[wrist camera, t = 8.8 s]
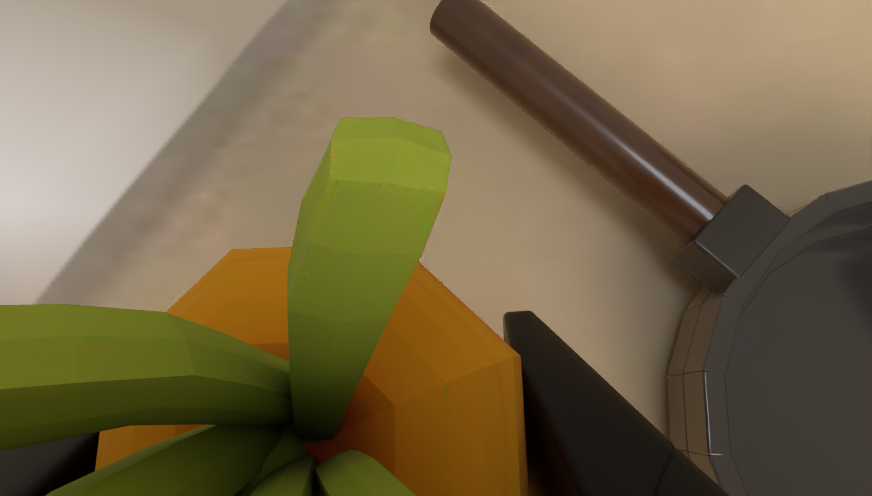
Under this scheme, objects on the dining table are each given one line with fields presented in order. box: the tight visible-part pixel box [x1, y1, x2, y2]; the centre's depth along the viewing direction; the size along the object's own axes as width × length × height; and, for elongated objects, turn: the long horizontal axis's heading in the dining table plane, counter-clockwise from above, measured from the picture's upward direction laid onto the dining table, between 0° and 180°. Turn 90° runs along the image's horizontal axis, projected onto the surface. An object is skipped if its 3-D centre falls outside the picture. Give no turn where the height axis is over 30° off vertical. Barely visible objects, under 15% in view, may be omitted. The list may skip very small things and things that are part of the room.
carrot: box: [0, 117, 529, 496], centre depth 9 cm, size 5×5×15 cm
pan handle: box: [430, 0, 791, 290], centre depth 19 cm, size 12×2×2 cm, turn 45°
